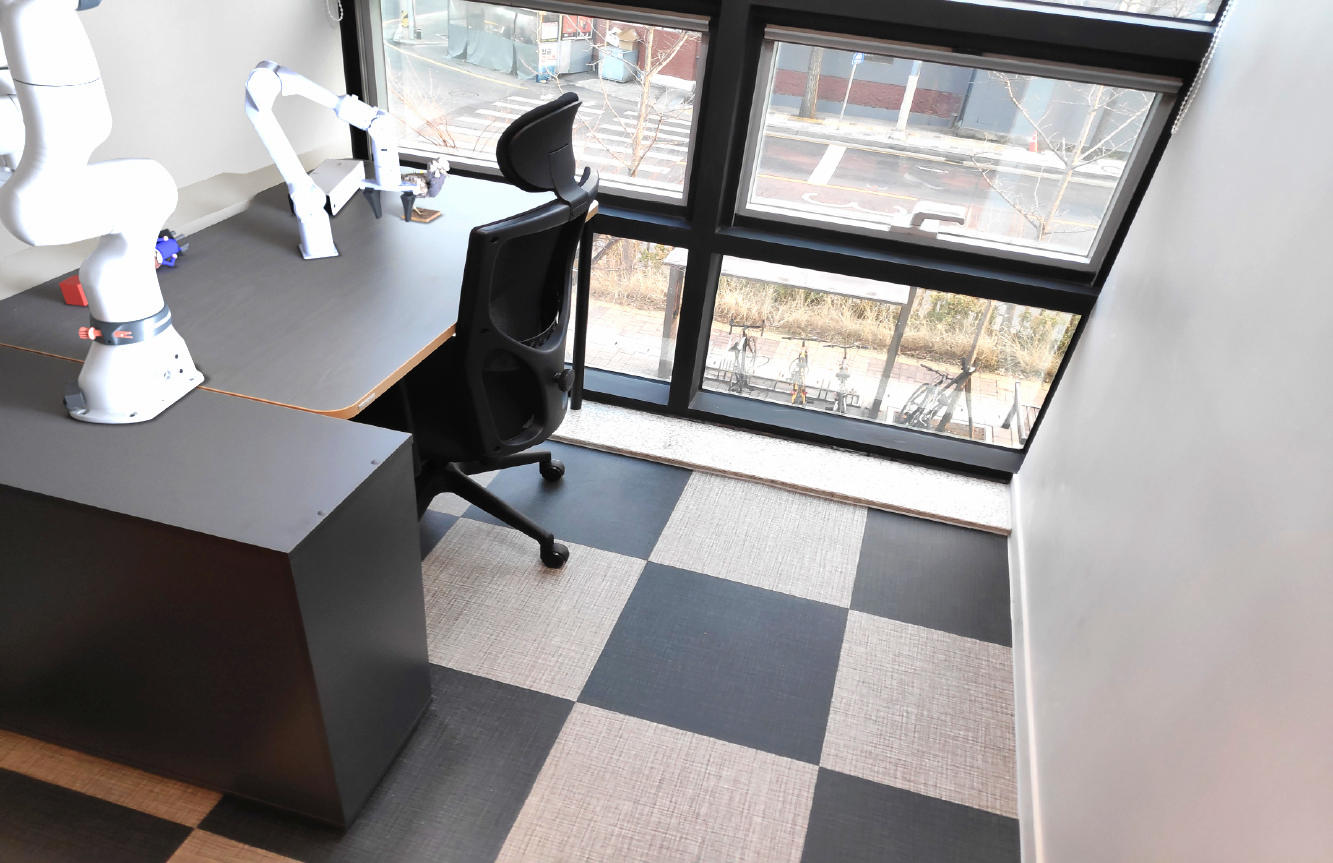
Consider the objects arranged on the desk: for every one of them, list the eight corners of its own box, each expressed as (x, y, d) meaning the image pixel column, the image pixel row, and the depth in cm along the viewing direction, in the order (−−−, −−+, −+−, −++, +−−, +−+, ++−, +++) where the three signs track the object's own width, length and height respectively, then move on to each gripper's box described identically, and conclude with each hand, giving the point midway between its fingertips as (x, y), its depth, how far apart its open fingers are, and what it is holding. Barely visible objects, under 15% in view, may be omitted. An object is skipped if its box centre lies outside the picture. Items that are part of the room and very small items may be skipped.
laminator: (328, 178, 253) (325, 158, 250) (369, 180, 254) (366, 160, 251) (291, 215, 225) (287, 193, 222) (337, 217, 226) (333, 195, 222)
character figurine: (198, 256, 199) (155, 280, 187) (170, 250, 200) (126, 274, 187) (191, 225, 195) (148, 248, 182) (163, 220, 195) (117, 242, 183)
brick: (99, 297, 178) (92, 276, 175) (85, 306, 174) (77, 285, 171) (81, 295, 178) (74, 274, 175) (66, 304, 174) (58, 283, 171)
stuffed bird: (455, 224, 227) (450, 161, 218) (382, 221, 226) (373, 157, 216) (461, 212, 235) (456, 151, 226) (390, 209, 234) (382, 147, 225)
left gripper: (92, 156, 161) (114, 224, 169) (-6, 145, 162) (20, 213, 170) (69, 165, 156) (92, 235, 163) (-32, 153, 157) (-4, 223, 165)
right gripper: (421, 162, 201) (427, 216, 208) (364, 157, 202) (372, 211, 209) (410, 170, 195) (417, 226, 202) (352, 165, 196) (360, 220, 203)
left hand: (55, 223), depth 167 cm, fingers open, 8 cm apart
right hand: (393, 219), depth 205 cm, fingers open, 7 cm apart
